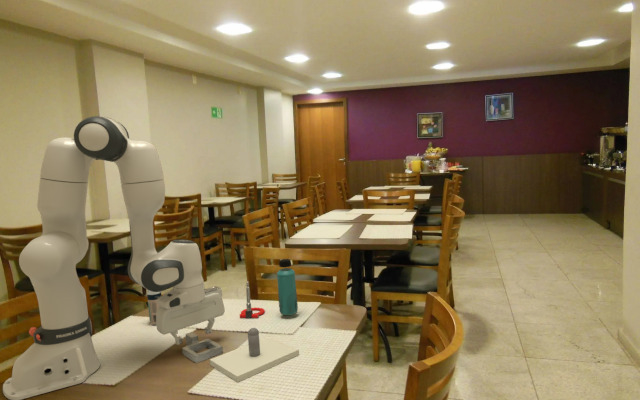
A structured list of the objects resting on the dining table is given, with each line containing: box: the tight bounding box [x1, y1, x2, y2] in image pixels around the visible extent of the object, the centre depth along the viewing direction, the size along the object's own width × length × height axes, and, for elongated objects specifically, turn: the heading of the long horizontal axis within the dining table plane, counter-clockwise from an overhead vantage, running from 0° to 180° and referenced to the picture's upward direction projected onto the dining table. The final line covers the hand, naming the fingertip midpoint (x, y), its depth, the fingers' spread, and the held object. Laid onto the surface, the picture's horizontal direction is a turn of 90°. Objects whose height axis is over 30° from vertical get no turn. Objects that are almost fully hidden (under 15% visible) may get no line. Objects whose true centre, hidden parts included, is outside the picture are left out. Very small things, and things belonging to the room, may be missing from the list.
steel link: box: [181, 331, 224, 364], centre depth 131 cm, size 12×8×4 cm
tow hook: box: [239, 280, 266, 319], centre depth 160 cm, size 8×13×9 cm
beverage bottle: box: [276, 258, 299, 316], centre depth 155 cm, size 6×7×20 cm
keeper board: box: [209, 327, 300, 383], centre depth 123 cm, size 20×14×9 cm
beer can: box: [146, 290, 162, 326], centre depth 155 cm, size 5×5×12 cm
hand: (194, 338), depth 133 cm, fingers open, 8 cm apart
